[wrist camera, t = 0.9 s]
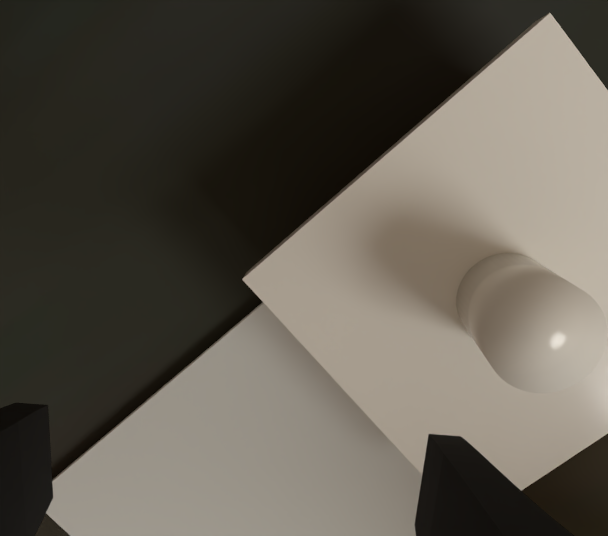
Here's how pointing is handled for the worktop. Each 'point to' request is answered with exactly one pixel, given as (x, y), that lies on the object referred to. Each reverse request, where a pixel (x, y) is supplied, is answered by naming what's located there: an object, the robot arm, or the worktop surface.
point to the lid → (470, 268)
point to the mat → (242, 453)
